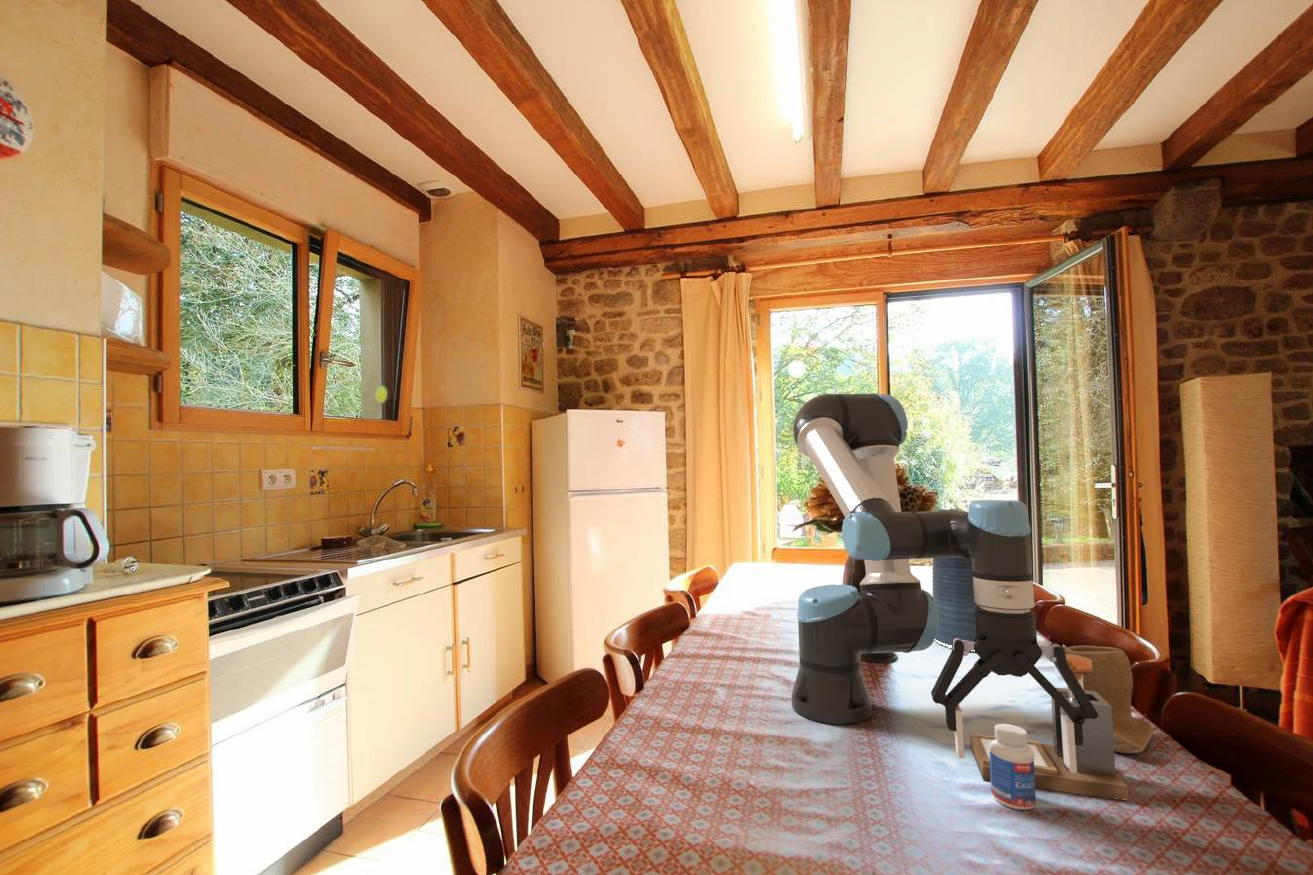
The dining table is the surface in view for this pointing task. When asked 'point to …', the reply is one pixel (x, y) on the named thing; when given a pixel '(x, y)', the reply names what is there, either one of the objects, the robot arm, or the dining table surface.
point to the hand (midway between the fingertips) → (1013, 760)
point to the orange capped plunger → (1078, 669)
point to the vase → (954, 599)
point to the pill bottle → (1012, 768)
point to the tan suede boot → (1115, 694)
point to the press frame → (1089, 736)
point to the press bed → (1052, 771)
